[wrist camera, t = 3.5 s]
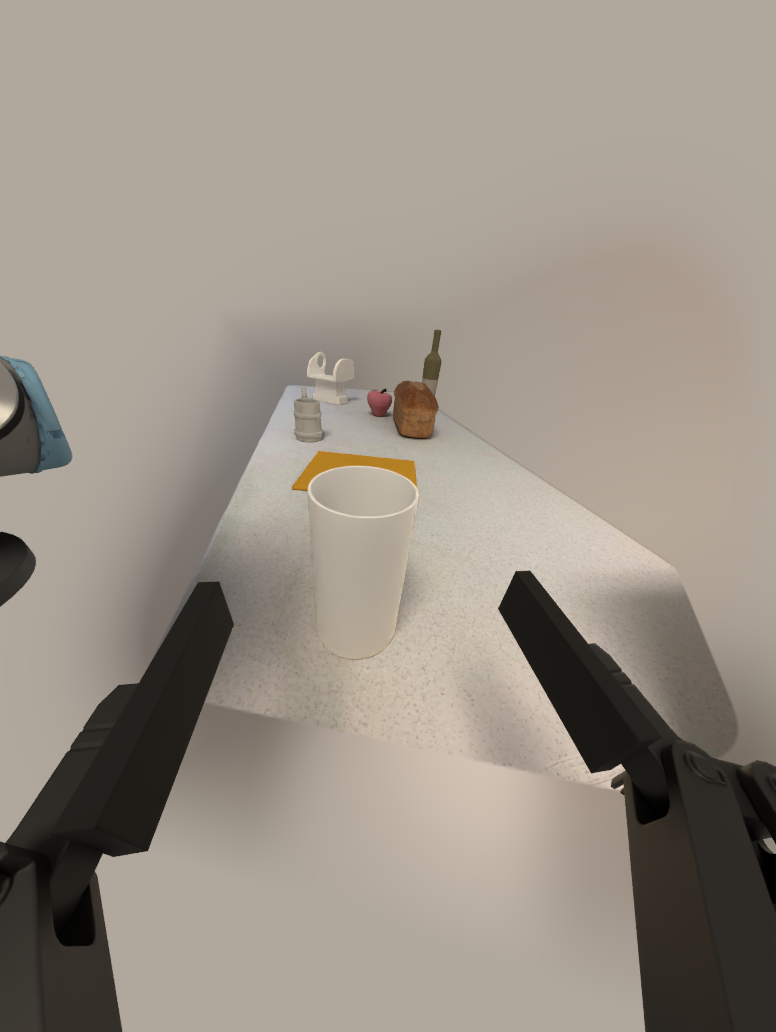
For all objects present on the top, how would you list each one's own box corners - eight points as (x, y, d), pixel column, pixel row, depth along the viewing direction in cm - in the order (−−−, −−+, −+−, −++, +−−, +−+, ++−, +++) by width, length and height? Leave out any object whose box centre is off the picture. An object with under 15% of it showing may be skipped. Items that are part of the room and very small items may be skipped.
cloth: (291, 489, 51) (291, 487, 51) (318, 452, 68) (318, 450, 68) (418, 502, 52) (418, 500, 52) (413, 462, 69) (414, 460, 68)
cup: (319, 593, 32) (311, 464, 23) (389, 589, 33) (406, 466, 24) (314, 663, 25) (301, 518, 16) (402, 655, 26) (433, 518, 18)
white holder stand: (308, 400, 117) (306, 351, 108) (327, 396, 127) (326, 352, 118) (335, 406, 113) (335, 355, 103) (353, 402, 122) (354, 356, 113)
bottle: (415, 406, 127) (426, 329, 110) (429, 407, 129) (442, 331, 112) (420, 410, 121) (433, 329, 105) (435, 411, 123) (449, 331, 107)
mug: (296, 442, 72) (292, 394, 66) (292, 429, 81) (288, 385, 75) (325, 442, 75) (324, 395, 68) (318, 429, 84) (316, 387, 77)
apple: (384, 412, 111) (386, 385, 106) (394, 418, 105) (397, 390, 100) (362, 413, 107) (364, 385, 102) (372, 418, 101) (373, 389, 95)
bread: (420, 419, 108) (426, 378, 100) (435, 442, 84) (445, 391, 77) (389, 416, 106) (393, 375, 99) (397, 439, 83) (403, 388, 75)
